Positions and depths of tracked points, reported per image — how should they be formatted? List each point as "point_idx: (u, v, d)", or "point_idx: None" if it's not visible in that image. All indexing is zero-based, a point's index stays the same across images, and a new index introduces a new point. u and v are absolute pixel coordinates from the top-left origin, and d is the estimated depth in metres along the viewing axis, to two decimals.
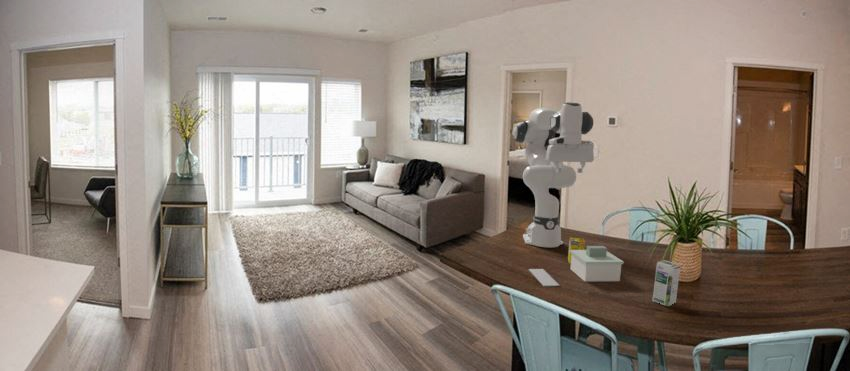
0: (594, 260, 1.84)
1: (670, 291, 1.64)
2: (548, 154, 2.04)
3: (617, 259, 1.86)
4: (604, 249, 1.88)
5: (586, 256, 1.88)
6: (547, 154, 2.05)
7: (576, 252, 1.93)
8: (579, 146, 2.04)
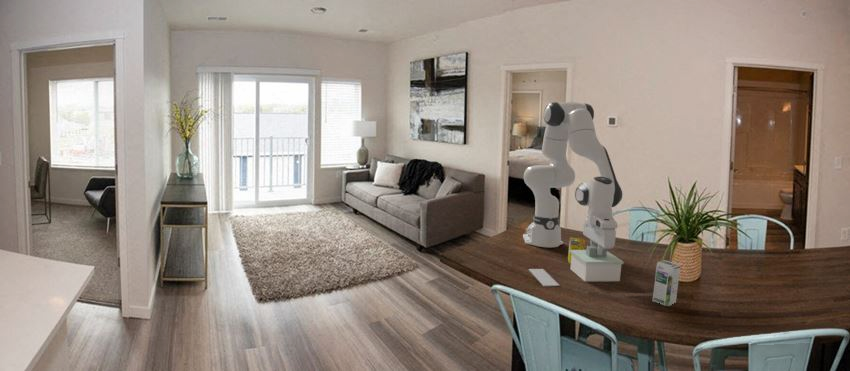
0: (594, 260, 1.84)
1: (670, 291, 1.64)
2: (612, 241, 1.79)
3: (617, 259, 1.86)
4: (604, 249, 1.88)
5: (586, 256, 1.88)
6: (609, 241, 1.78)
7: (576, 252, 1.93)
8: None
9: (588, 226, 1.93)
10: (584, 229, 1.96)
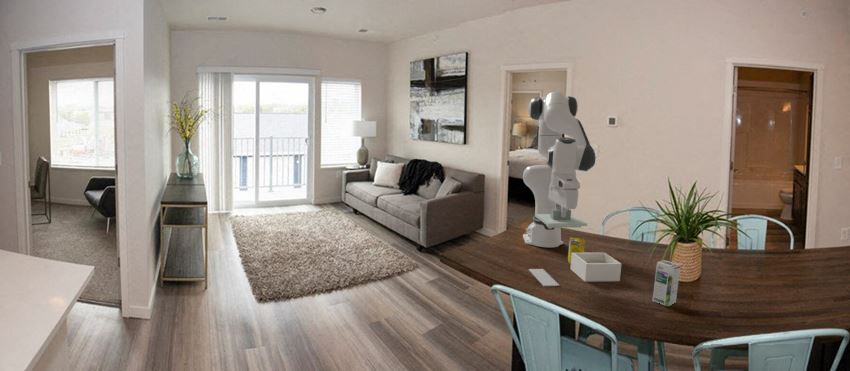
0: (557, 222, 1.79)
1: (670, 291, 1.64)
2: (574, 201, 1.74)
3: (581, 221, 1.81)
4: (568, 212, 1.84)
5: (550, 219, 1.84)
6: (571, 201, 1.74)
7: (540, 216, 1.89)
8: None
9: (553, 189, 1.89)
10: (549, 192, 1.92)
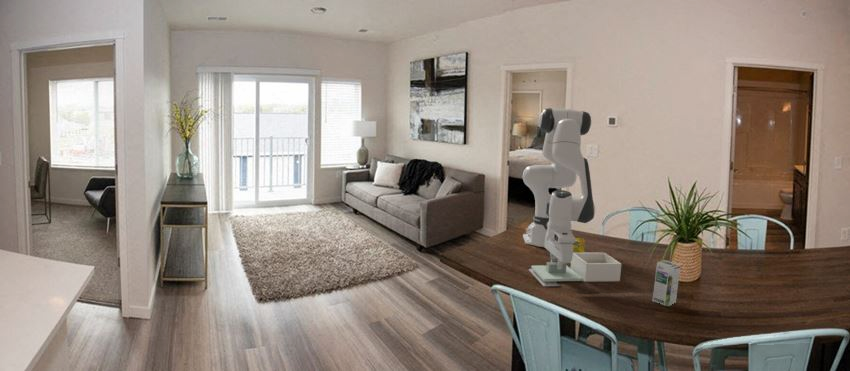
0: (552, 277, 1.83)
1: (670, 291, 1.64)
2: (569, 255, 1.78)
3: (576, 276, 1.85)
4: (563, 265, 1.88)
5: (546, 273, 1.87)
6: (566, 255, 1.78)
7: (536, 268, 1.93)
8: None
9: (549, 239, 1.93)
10: (545, 242, 1.96)
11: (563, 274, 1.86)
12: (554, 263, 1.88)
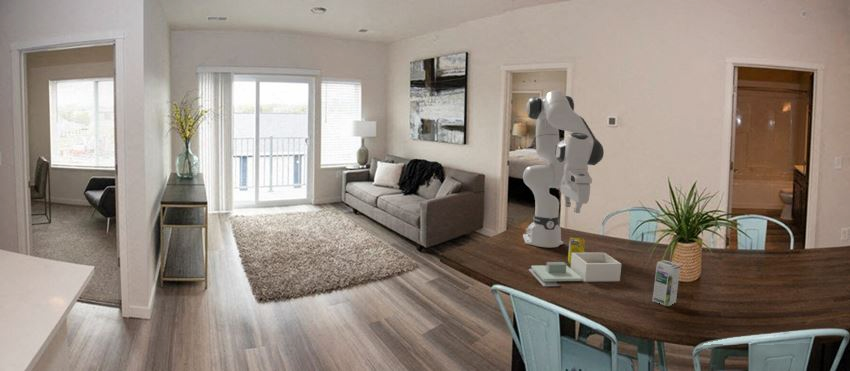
0: (552, 277, 1.83)
1: (670, 291, 1.64)
2: (586, 196, 1.78)
3: (576, 276, 1.85)
4: (563, 265, 1.88)
5: (546, 273, 1.87)
6: (583, 196, 1.78)
7: (536, 268, 1.93)
8: None
9: (565, 183, 1.93)
10: (561, 186, 1.96)
11: (563, 274, 1.86)
12: (554, 263, 1.88)
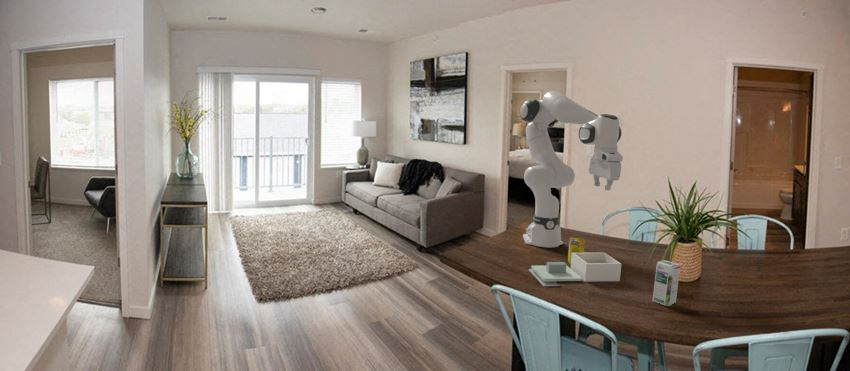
0: (552, 277, 1.83)
1: (670, 291, 1.64)
2: (617, 173, 1.87)
3: (576, 276, 1.85)
4: (563, 265, 1.88)
5: (546, 273, 1.87)
6: (615, 173, 1.87)
7: (536, 268, 1.93)
8: None
9: (594, 163, 2.02)
10: (590, 167, 2.05)
11: (563, 274, 1.86)
12: (554, 263, 1.88)
